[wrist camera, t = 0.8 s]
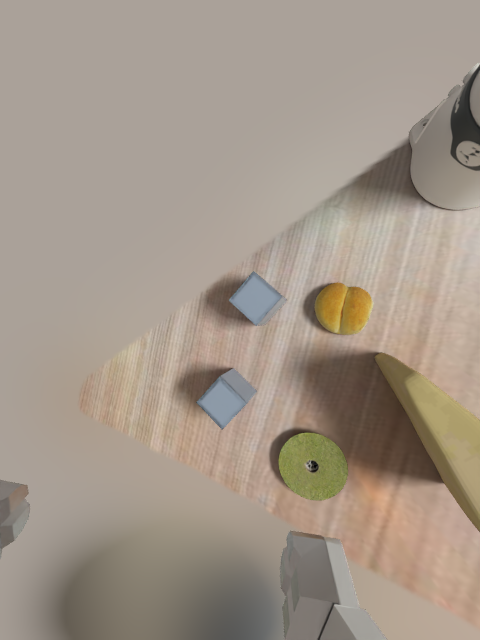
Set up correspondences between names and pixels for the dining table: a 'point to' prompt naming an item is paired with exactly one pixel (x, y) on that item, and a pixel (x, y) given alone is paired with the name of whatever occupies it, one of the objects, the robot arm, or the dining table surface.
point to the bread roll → (343, 308)
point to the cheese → (441, 431)
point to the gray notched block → (257, 299)
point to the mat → (313, 466)
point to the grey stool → (226, 397)
